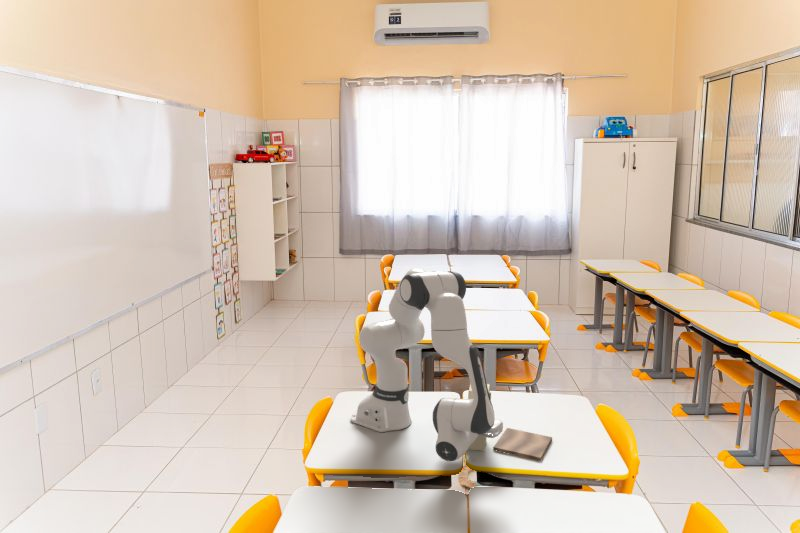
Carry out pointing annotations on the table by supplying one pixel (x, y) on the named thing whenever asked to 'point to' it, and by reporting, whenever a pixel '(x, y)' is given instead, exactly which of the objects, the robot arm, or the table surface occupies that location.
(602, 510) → the table surface
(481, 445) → the toy refrigerator
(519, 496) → the table surface
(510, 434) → the walnut platform
